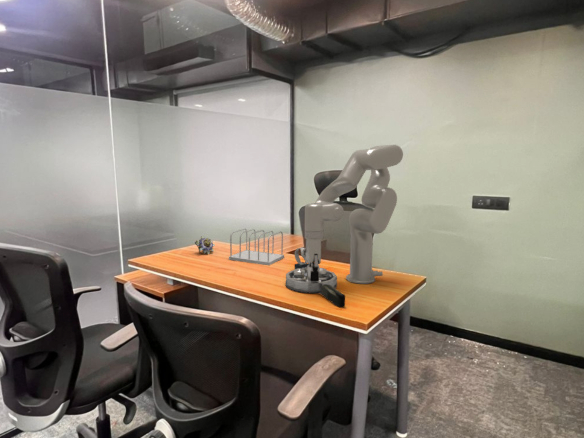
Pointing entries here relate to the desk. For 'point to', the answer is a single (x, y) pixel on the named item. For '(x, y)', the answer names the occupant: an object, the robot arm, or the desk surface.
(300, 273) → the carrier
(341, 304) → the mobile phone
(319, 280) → the grey hollow tube
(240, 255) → the file sorter
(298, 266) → the watch
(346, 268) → the desk surface
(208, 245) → the passion flower
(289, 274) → the ring gear
